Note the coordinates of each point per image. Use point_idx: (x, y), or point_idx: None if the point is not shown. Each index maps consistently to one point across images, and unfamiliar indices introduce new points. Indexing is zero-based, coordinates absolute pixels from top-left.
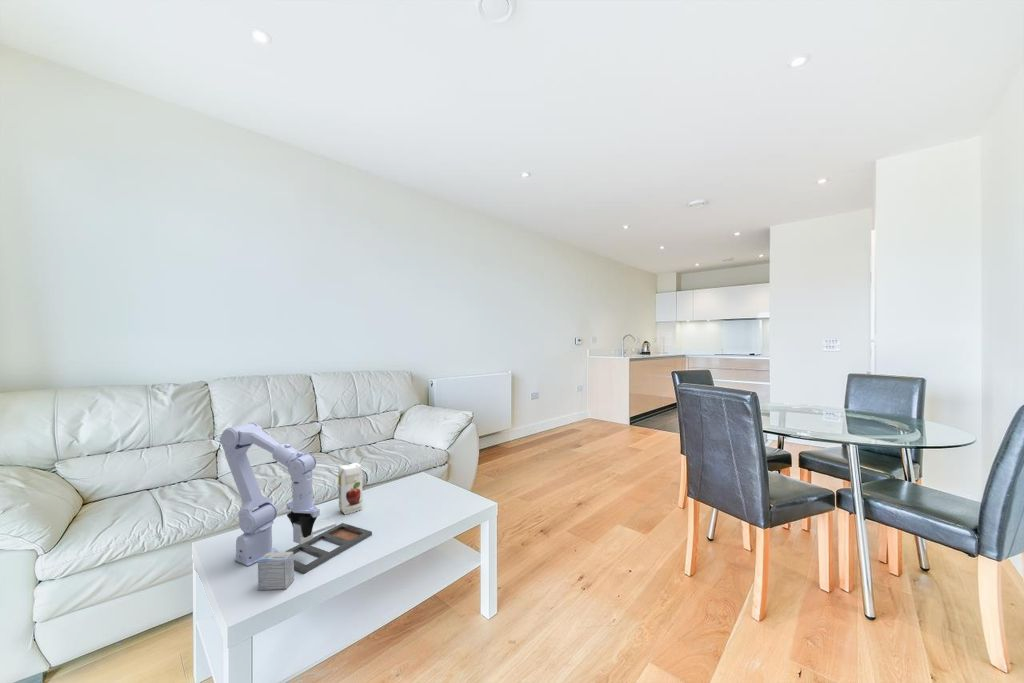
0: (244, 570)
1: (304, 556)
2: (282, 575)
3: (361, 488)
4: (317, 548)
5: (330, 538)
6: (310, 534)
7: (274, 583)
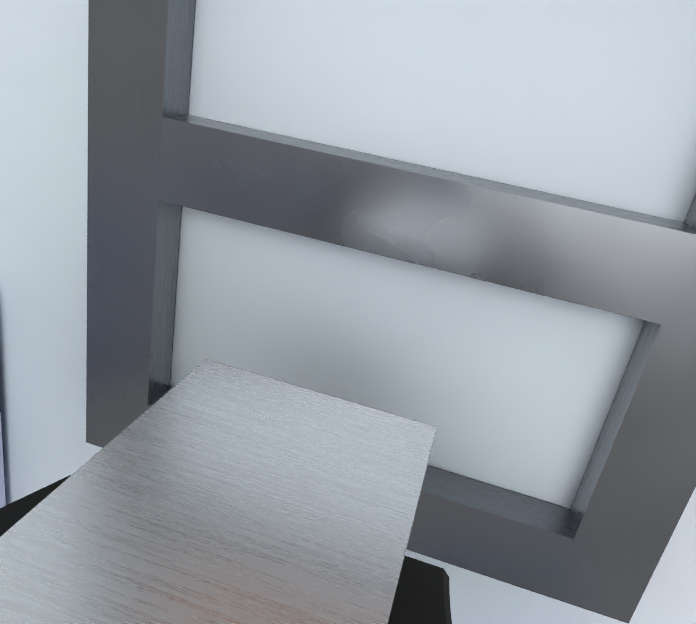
0: None
1: (341, 299)
2: None
3: None
4: (421, 185)
5: None
6: (448, 598)
7: None
